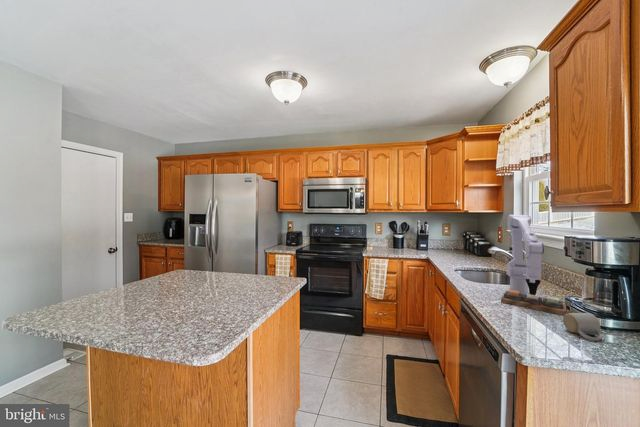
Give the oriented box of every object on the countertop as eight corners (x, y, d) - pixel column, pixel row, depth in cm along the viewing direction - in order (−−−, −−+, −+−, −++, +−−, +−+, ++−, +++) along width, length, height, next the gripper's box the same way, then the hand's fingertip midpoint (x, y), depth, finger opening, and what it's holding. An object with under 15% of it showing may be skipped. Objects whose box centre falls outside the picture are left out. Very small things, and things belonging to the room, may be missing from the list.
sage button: (546, 303, 126) (546, 298, 126) (546, 300, 130) (546, 296, 130) (559, 305, 123) (559, 300, 123) (558, 303, 127) (559, 298, 127)
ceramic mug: (560, 327, 107) (561, 308, 106) (583, 329, 106) (584, 310, 105) (583, 341, 96) (584, 320, 96) (609, 343, 95) (610, 321, 95)
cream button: (526, 301, 131) (526, 296, 131) (527, 298, 135) (527, 294, 135) (538, 303, 128) (538, 298, 128) (538, 301, 132) (538, 296, 132)
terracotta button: (507, 295, 136) (508, 291, 136) (509, 293, 139) (509, 289, 139) (518, 297, 133) (518, 293, 133) (519, 295, 137) (519, 291, 137)
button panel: (501, 302, 135) (501, 294, 135) (504, 296, 144) (504, 289, 144) (565, 315, 119) (566, 306, 119) (565, 308, 128) (565, 300, 128)
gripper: (524, 263, 139) (523, 289, 140) (522, 267, 128) (521, 296, 129) (542, 265, 135) (541, 292, 135) (541, 270, 124) (540, 299, 124)
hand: (532, 294), depth 131 cm, fingers closed
